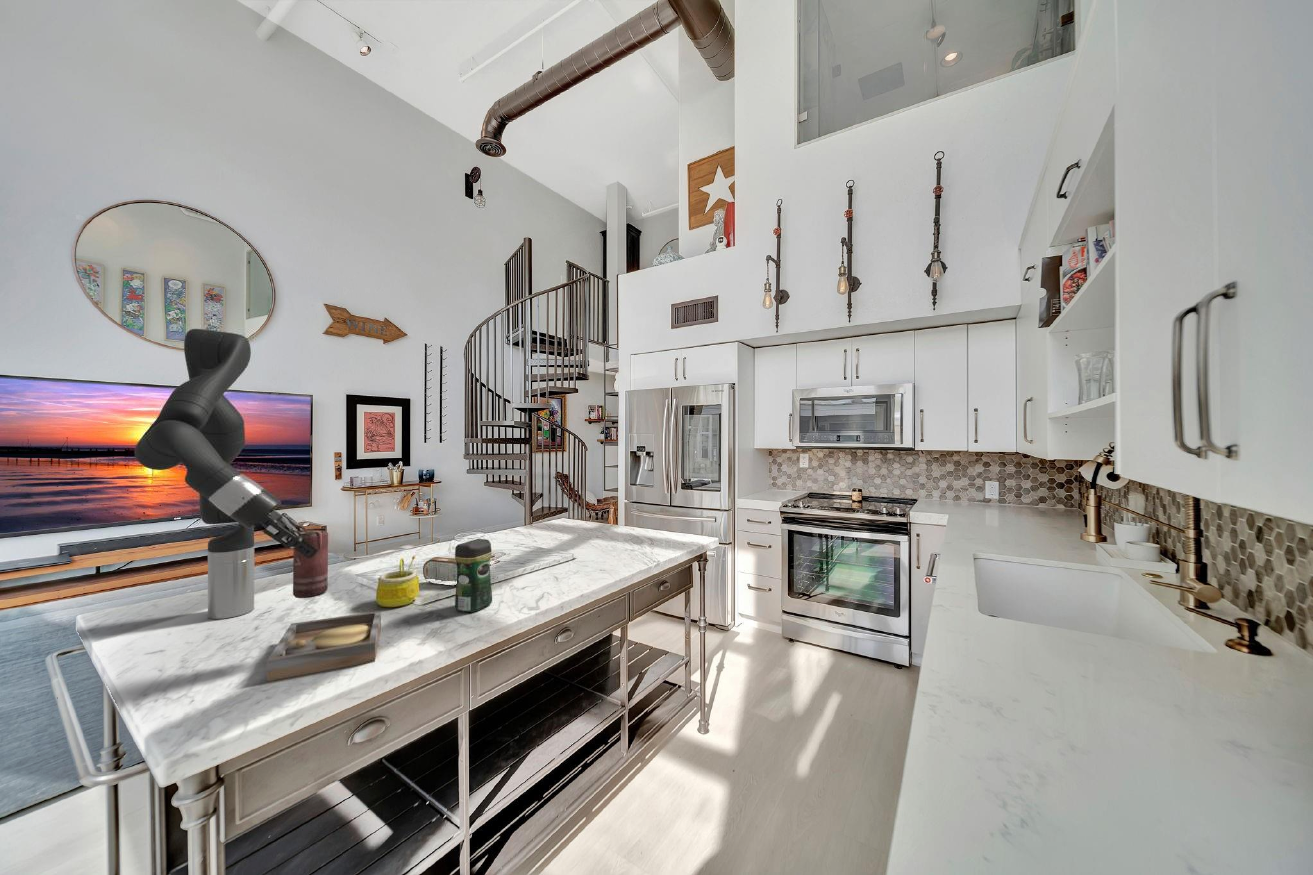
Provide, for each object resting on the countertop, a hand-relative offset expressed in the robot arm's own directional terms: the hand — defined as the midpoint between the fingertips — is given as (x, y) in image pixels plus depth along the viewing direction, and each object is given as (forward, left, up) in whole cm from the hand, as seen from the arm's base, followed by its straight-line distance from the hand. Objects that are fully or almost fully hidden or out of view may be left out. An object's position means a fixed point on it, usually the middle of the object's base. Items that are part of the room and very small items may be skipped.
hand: (315, 551), depth 104 cm
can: (0, -1, -9) cm, 10 cm away
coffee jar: (-13, +34, -22) cm, 43 cm away
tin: (-38, +28, -22) cm, 52 cm away
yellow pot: (-27, +16, -22) cm, 38 cm away
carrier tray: (+1, +3, -22) cm, 22 cm away
